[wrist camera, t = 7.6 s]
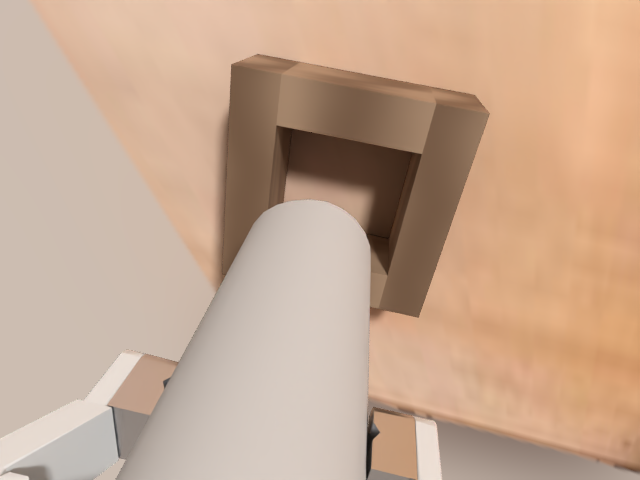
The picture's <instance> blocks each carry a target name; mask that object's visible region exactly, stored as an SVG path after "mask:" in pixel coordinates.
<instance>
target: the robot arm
mask: <svg viewBox="0 0 640 480" xmlns="http://www.w3.org/2000/svg"><path fill="white" fill-rule="evenodd" d="M178 363H179V362H175V361H172V360H167V359H164V358H160V357H156V356H153V355H148V354H144V353H140V352H136V351H132V350H128V349H126V350H125V351H123V352H122V353H120V355H119V356H118V357H117V358H116V360H115V361H114V362H113V364H112V365H111V366H110V368H109V369H108V370H107V371H106V372H105V374H104V375H103V376H102V377H101V379H100V380H99V382H98V383H97V384H96V385H95V386H94V388H93V389H92V390H91V391H90V393H89V394H88V395H87V396H86V398H85V399H84V400H79V399H77V400H75V401H73V402H71V403H69V404H67V405H65V406H63V407H61V408H59V409H57V410H55V411H53V412H52V413H49V414H47V415H45V416H44V417H41V418H40V419H38V420H36V421H34V422H32V423H30V424H28V425H26V426H24V427H22V428H20V429H18V430H16V431H14V432H12V433H10V434H8V435H6V436H4V437H2V438H0V480H93V479H95V478H96V477H97V476H99V475H100V474H101V473H102V472H104V471H105V470H107V469H108V468H109V467H111V466H112V465H113V464H115V463H116V462H117V461H118V460H119V458H121V459H127V457H128V455H129V454H130V452H131V450H132V448H133V446H134V444H135V443H136V441H137V439H138V437H139V435H140V433H141V431H142V430H143V428H144V426H145V424H146V422H147V420H148V418H149V417H150V415H151V413H152V411H153V409H154V407H155V405H156V404H157V402H158V400H159V398H160V396H161V394H162V393H163V391H164V389H165V387H166V385H167V383H168V381H169V380H170V378H171V376H172V374H173V372H174V370H175V368H176V367H177V365H178ZM441 474H442V473H441V464H440V454H439V444H438V434H437V426H436V423H435V421H432V420H428V419H423V418H419V417H415V416H414V417H413V416H412V415H407V414H403V413H398V412H394V411H389V410H384V409H380V408H376V407H373V408H372V410H371V413H370V416H369V424H368V427H367V472H366V480H442V475H441Z"/></svg>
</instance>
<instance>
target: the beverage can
mask: <svg viewBox="0 0 640 480" xmlns="http://www.w3.org/2000/svg"><path fill="white" fill-rule="evenodd" d="M370 277H371V253H370V245H369V242H368V239H367V236H366V234H365V232H364V230H363V229H362V228H361V226H360V225H359V223H358V222H357V221H356V219H355V218H353V217H352V216H351V215H350V214H349V213H347V212H346V211H345V210H344V209H342V208H340V207H338V206H336V205H333V204H331V203H329V202H326V201H319V200H312V199H306V200H293V201H289V202H285V203H281V204H277V205H276V206H274V207H272V208H270V209H268V210H267V211H265V212H263V213H262V215H261V216H260V217H259V218H258V219H257V220H256V221H255V222H254V224H253V226H252V228H251V230H250V231H249V233H248V235H247V237H246V239H245V241H244V243H243V244H242V246H241V248H240V250H239V252H238V254H237V256H236V257H235V259H234V261H233V263H232V265H231V267H230V268H229V270H228V272H227V274H226V276H225V278H224V280H223V281H222V283H221V285H220V287H219V289H218V291H217V293H216V294H215V296H214V298H213V300H212V302H211V304H210V305H209V307H208V309H207V311H206V313H205V315H204V317H203V318H202V320H201V322H200V324H199V326H198V328H197V330H196V331H195V334H194V335H193V337H192V339H191V341H190V343H189V344H188V346H187V348H186V350H185V352H184V354H183V356H182V357H181V359H180V361H179V363H178V365H177V367H176V368H175V370H174V372H173V374H172V376H171V378H170V380H169V381H168V383H167V385H166V387H165V389H164V391H163V393H162V394H161V396H160V398H159V400H158V402H157V404H156V405H155V407H154V409H153V411H152V413H151V415H150V417H149V418H148V420H147V422H146V424H145V426H144V428H143V430H142V431H141V433H140V435H139V437H138V439H137V441H136V443H135V444H134V446H133V448H132V450H131V452H130V454H129V455H128V457H127V459H126V461H125V463H124V465H123V467H122V468H121V471H120V472H119V474H118V476H117V478H116V480H366V472H367V427H368V426H367V425H368V423H367V422H368V377H369V327H370Z"/></svg>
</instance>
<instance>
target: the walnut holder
mask: <svg viewBox="0 0 640 480" xmlns="http://www.w3.org/2000/svg"><path fill="white" fill-rule="evenodd" d="M488 117H489V112H488V111H487V110H486V109H485V107H484V106H483V105H482V104H481V102H480V101H479V100H478V99H477V97H476V96H475V95H472V94H466V93H461V92H456V91H451V90H445V89H440V88H435V87H429V86H424V85H419V84H413V83H408V82H403V81H397V80H392V79H387V78H381V77H376V76H371V75H366V74H360V73H355V72H350V71H344V70H339V69H334V68H328V67H323V66H318V65H312V64H307V63H302V62H297V61H291V60H286V59H281V58H275V57H270V56H265V55H259V54H257V55H255V56H252V57H249V58H247V59H244V60H242V61H239V62H237V63H234V64H231V85H230V107H229V130H228V152H227V175H226V197H225V219H224V242H223V264H222V274H224V275H226V274H227V272H228V270H229V268H230V267H231V265H232V263H233V261H234V259H235V257H236V256H237V254H238V252H239V250H240V248H241V246H242V244H243V243H244V241H245V239H246V237H247V235H248V233H249V231H250V230H251V228H252V226H253V224H254V222H255V221H256V220H257V219H258V218H259V217H260V216H261V215H262V213H263V212H265V211H267V210H268V209H270V208H272V207H274V206H276V205H277V204H281V203H283V201H284V192H285V184H286V176H287V167H288V159H289V151H290V142H291V134H292V128H293V129H298V130H303V131H308V132H313V133H318V134H323V135H328V136H333V137H338V138H343V139H348V140H353V141H358V142H363V143H368V144H373V145H378V146H383V147H388V148H393V149H399V150H404V151H409V152H412V156H411V160H410V163H409V167H408V171H407V174H406V178H405V182H404V186H403V189H402V193H401V197H400V200H399V204H398V208H397V211H396V215H395V219H394V222H393V226H392V230H391V234H390V237H389V239H388V238H383V237H379V236H374V235H369V234H366V236H367V239H368V242H369V245H370V253H371V277H370V307H373V308H377V309H382V310H386V311H391V312H395V313H400V314H404V315H409V316H413V317H418V318H419V315H420V312H421V309H422V306H423V303H424V300H425V298H426V295H427V292H428V289H429V286H430V283H431V280H432V278H433V275H434V272H435V269H436V266H437V263H438V260H439V257H440V255H441V252H442V249H443V246H444V243H445V240H446V237H447V235H448V232H449V229H450V226H451V223H452V220H453V217H454V214H455V212H456V209H457V206H458V203H459V200H460V197H461V194H462V192H463V189H464V186H465V183H466V180H467V177H468V174H469V171H470V169H471V166H472V163H473V160H474V157H475V154H476V151H477V148H478V146H479V143H480V140H481V137H482V134H483V131H484V128H485V126H486V123H487V120H488Z"/></svg>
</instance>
